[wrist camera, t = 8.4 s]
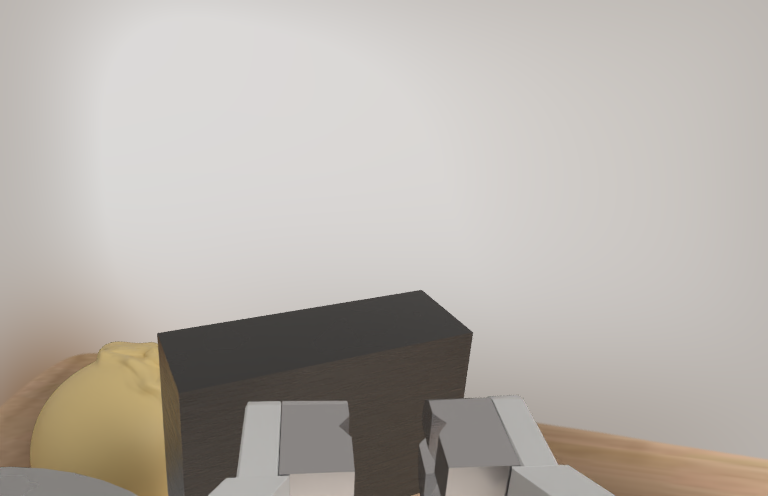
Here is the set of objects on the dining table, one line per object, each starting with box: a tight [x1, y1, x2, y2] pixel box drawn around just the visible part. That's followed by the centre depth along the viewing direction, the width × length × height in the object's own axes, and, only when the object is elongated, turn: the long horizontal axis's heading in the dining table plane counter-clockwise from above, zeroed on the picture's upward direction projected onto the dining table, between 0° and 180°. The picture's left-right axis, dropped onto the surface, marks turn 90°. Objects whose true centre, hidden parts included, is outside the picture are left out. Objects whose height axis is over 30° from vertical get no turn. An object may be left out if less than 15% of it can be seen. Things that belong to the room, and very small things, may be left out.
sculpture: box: [30, 342, 168, 496], centre depth 41 cm, size 12×12×11 cm
